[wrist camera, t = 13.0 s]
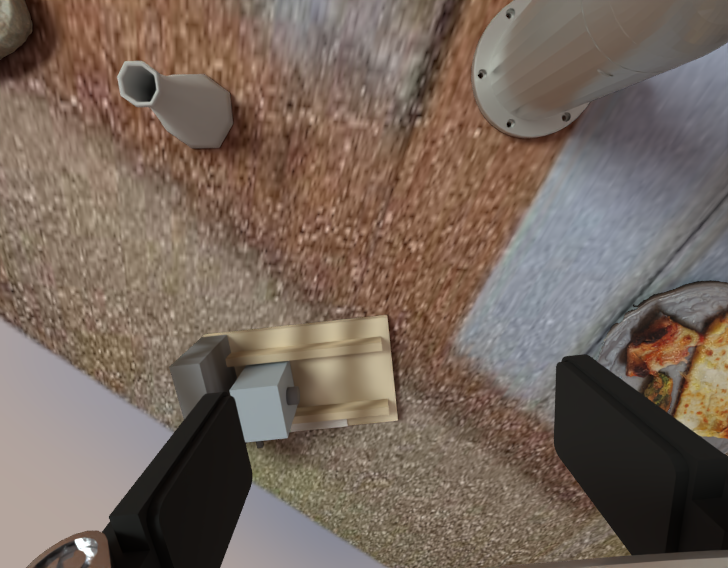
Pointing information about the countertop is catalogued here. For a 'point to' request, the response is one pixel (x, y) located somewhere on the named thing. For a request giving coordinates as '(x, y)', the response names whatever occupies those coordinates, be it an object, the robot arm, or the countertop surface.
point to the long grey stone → (13, 25)
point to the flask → (180, 103)
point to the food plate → (678, 355)
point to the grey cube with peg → (266, 401)
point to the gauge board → (302, 369)
